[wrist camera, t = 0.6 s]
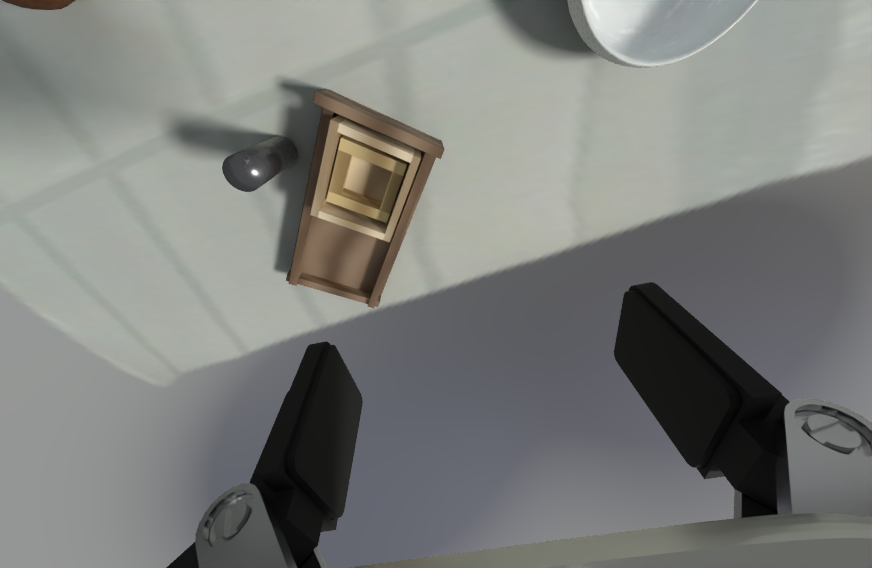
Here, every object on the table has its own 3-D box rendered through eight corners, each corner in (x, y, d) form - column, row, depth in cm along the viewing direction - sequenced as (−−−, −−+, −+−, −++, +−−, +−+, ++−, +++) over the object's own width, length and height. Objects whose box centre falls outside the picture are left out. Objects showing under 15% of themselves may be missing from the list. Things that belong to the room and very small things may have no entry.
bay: (292, 270, 45) (279, 290, 41) (328, 89, 33) (315, 91, 29) (379, 296, 48) (375, 317, 44) (441, 140, 36) (444, 149, 32)
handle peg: (266, 158, 36) (221, 183, 28) (269, 130, 35) (223, 148, 26) (294, 169, 37) (259, 197, 29) (299, 142, 35) (263, 163, 27)
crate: (322, 199, 38) (310, 214, 34) (341, 113, 33) (330, 119, 29) (392, 225, 40) (389, 242, 36) (420, 148, 35) (421, 158, 31)
